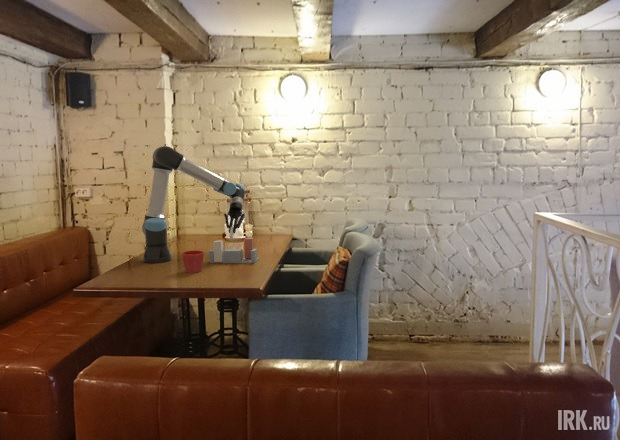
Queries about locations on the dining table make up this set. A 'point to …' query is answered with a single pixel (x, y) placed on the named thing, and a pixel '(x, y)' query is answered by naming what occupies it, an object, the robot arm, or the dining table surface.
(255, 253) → the slot block
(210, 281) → the dining table surface
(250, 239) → the red plug
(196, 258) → the flower pot
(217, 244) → the cream plug
